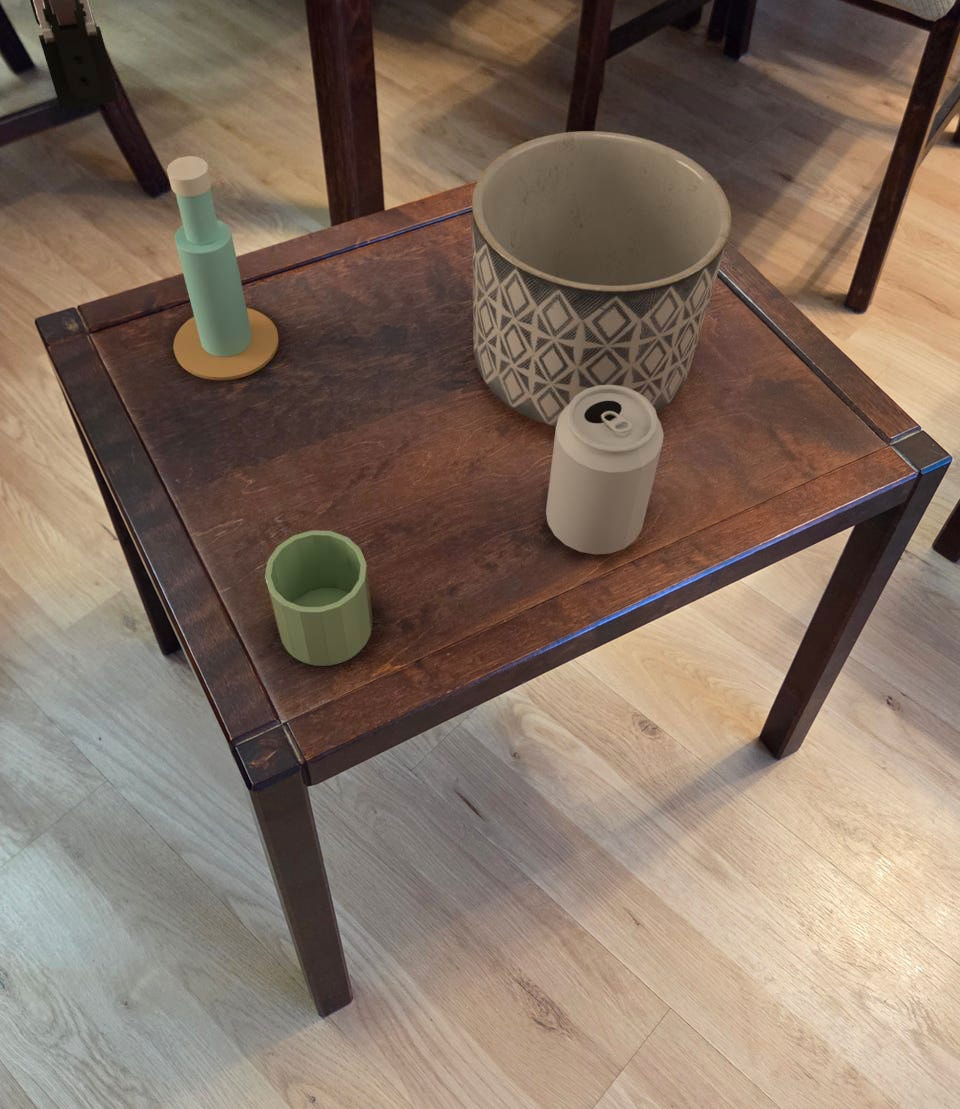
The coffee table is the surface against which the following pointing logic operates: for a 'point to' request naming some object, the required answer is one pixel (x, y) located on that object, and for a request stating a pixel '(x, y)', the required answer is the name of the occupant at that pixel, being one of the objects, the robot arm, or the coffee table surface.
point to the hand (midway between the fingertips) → (76, 60)
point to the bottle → (208, 262)
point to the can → (603, 469)
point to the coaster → (233, 366)
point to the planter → (592, 268)
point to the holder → (320, 597)
